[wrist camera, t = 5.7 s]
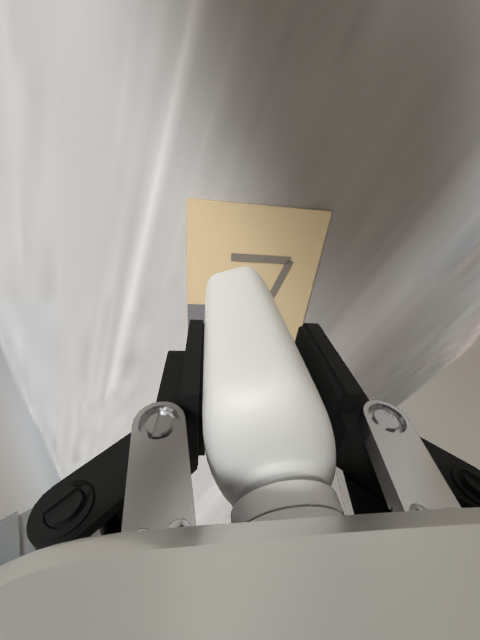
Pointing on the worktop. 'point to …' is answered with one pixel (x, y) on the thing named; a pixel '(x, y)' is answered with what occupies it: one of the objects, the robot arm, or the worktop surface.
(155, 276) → the worktop surface
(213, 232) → the card
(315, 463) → the eye dropper bottle
